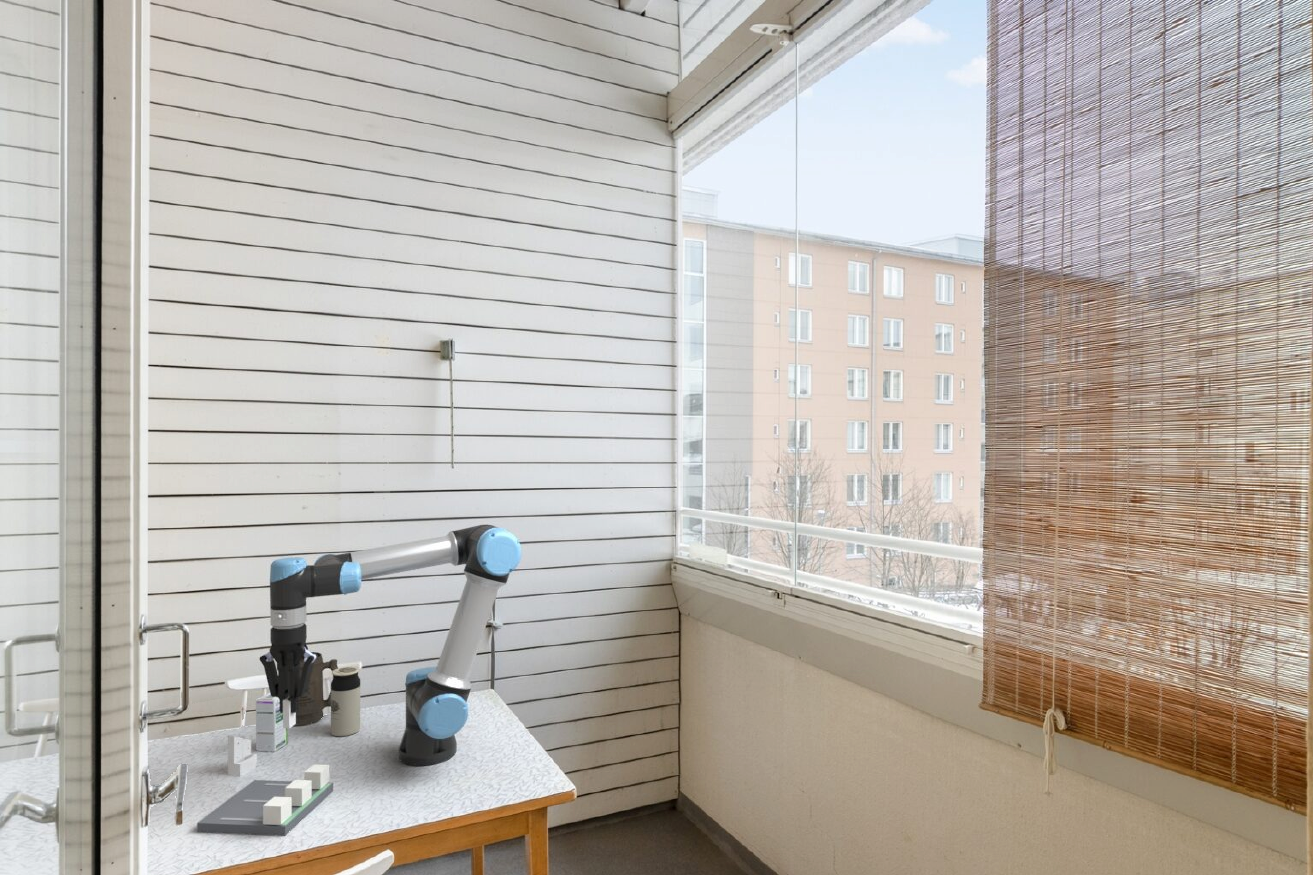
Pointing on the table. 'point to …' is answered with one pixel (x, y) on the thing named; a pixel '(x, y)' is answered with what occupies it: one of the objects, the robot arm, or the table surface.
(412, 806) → the table surface
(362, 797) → the table surface
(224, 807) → the grey striped board
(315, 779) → the white cubic piece
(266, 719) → the syrup box
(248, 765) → the white wedge bracket
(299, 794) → the white cubic block
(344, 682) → the travel mug
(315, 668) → the beer stein
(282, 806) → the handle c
